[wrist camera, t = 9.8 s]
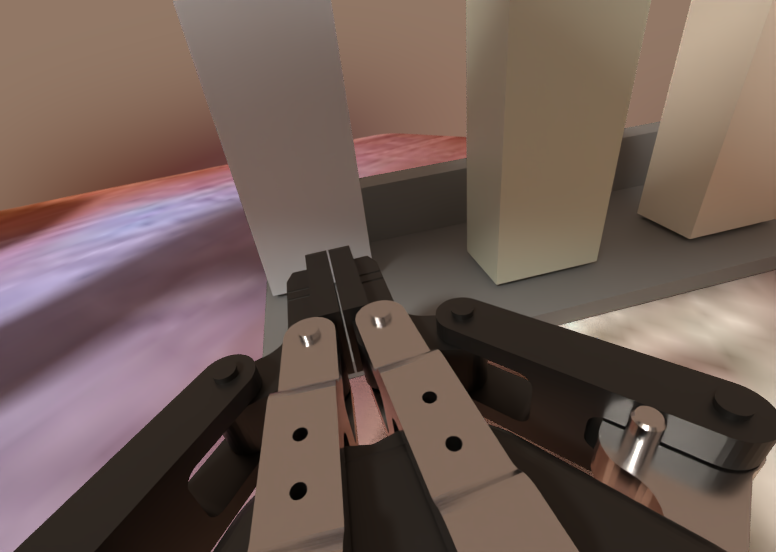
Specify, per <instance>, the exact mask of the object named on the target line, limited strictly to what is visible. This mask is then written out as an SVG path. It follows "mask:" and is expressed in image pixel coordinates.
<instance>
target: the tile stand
mask: <svg viewBox="0 0 776 552" xmlns="http://www.w3.org/2000/svg"><path fill="white" fill-rule="evenodd" d="M659 126H660V122H656V123H651V124H646V125H640V126H635V127H629V128H624V132H623V137H622V142H621V147H620V152H619V156H618V161H617V166H616V171H615V176H614V180H613V185H612V190H611V195H610V199H609V204H608V209H607V214H606V219H605V223H604V228H603V233H602V238H601V243H600V247H599V252H598V257H597V261H595V262H591V263H587V264H582V265H578V266H574V267H570V268H566V269H561V270H557V271H553V272H549V273H544V274H540V275H536V276H532V277H527V278H523V279H519V280H515V281H511V282H506V283H502V284H498V285H496V284H495V283H494V281H493V280H492V279H491V278H490V277H489V276H488V274H487V273H486V272H485V271H484V270H483V269H482V268H481V266H480V265H479V264H478V263H477V262H476V261H475V259H474V258H473V257H472V256H471V255H470V254H469V253H468V251H467V158H464V159H459V160H454V161H448V162H443V163H438V164H433V165H427V166H422V167H417V168H411V169H406V170H401V171H395V172H390V173H385V174H379V175H374V176H369V177H363V178H359V181H360V187H361V194H362V200H363V206H364V213H365V219H366V225H367V232H368V238H369V244H370V251H371V257H372V259H373V260H375V261H376V262H377V264H378V266H379V268H380V271H381V273H382V275H383V278H384V280H385V282H386V284H387V287H388V289H389V291H390V293H391V296H392V298H393V300H394V302H397V303H399V304H401V305H402V306H403V307H404V308H405V310H406V312H407V313H408V314H411V315H417V316H430V315H436V310H437V308H438V307H439V305H440V304H442V303H443V302H445V301H447V300H449V299H453V298H459V297H467V298H472V299H476V300H479V301H482V302H485V303H488V304H491V305H494V306H498V307H501V308H504V309H507V310H510V311H513V312H516V313H519V314H522V315H525V316H529V317H532V318H535V319H538V320H541V321H544V322H547V323H550V324H553V325H556V326H557V325H561V324H565V323H569V322H573V321H576V320H580V319H584V318H588V317H592V316H596V315H600V314H604V313H608V312H612V311H615V310H619V309H623V308H627V307H631V306H635V305H639V304H643V303H647V302H650V301H654V300H658V299H662V298H666V297H670V296H674V295H678V294H682V293H686V292H689V291H693V290H697V289H701V288H705V287H709V286H713V285H717V284H721V283H724V282H728V281H732V280H736V279H740V278H744V277H748V276H752V275H756V274H760V273H763V272H767V271H771V270H775V269H776V219H773V220H769V221H764V222H760V223H756V224H752V225H748V226H743V227H739V228H735V229H731V230H726V231H722V232H718V233H714V234H709V235H705V236H701V237H697V238H693V239H688V238H686V237H684V236H682V235H680V234H678V233H676V232H674V231H672V230H670V229H668V228H666V227H664V226H662V225H660V224H658V223H656V222H654V221H652V220H650V219H648V218H646V217H644V216H642V215H640V214H638V213H637V212H638V208H639V204H640V200H641V196H642V192H643V188H644V184H645V180H646V177H647V173H648V169H649V165H650V161H651V157H652V153H653V149H654V145H655V141H656V137H657V133H658V129H659ZM334 284H335V288H336V292H337V297H338V301H339V305H340V309H341V314H342V318H343V323H344V327H345V331H346V336H347V340H348V345H349V349H350V353H351V358H352V362H353V367H354V371H355V373H353V374H349V375H348V377H349V379H351V378H354V377H358V376H362V375H365V374H364V371H361V372H357V370H356V365H355V361H354V357H353V353H352V349H351V345H350V341H349V336H348V332H347V328H346V324H345V320H344V316H343V312H342V307H341V303H340V299H339V295H338V290H337V286H336V282H334ZM287 302H288V301H287V293H285V294H280V295H276V296H273V294H272V292H271V289H270V286H269V283H268V280H267V290H266V307H265V324H264V341H263V357H265V356H267V355H268V354H270V353H272V352H273V351H275V350H276V349H277V348H278V347H280V346H281V344H282V343H283V338H284V335H285V333H286V331H287V330H288V313H287ZM263 357H262V358H263Z"/></svg>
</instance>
